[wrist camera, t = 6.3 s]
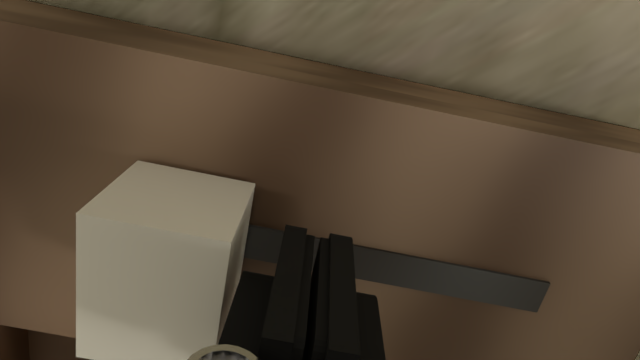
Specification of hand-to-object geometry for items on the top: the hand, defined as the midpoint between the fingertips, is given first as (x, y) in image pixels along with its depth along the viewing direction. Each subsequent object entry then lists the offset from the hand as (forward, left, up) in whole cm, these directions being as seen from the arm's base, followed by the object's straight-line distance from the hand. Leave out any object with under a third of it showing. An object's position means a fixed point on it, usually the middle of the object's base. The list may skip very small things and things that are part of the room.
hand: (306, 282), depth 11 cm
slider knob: (+3, 0, -1) cm, 4 cm away
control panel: (+1, +3, -6) cm, 7 cm away
